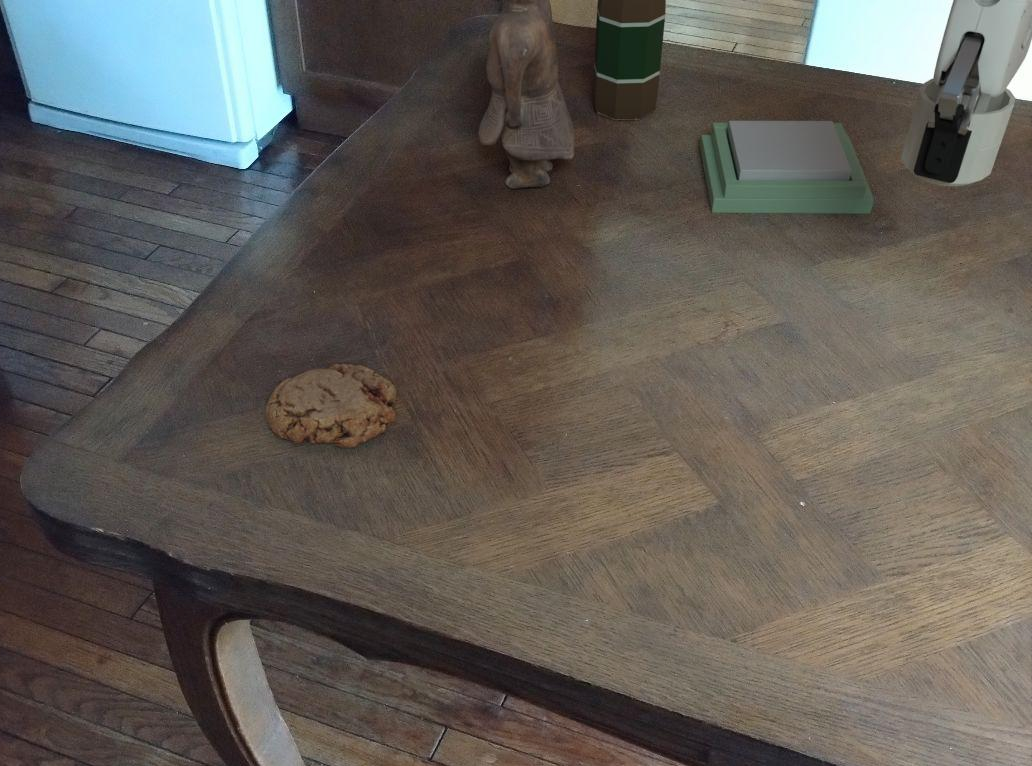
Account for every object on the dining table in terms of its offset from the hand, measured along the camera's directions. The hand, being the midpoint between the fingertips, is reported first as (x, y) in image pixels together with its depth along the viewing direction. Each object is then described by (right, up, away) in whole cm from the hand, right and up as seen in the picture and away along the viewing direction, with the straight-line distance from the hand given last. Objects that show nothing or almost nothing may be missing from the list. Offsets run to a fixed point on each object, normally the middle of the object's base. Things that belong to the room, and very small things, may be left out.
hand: (948, 154), depth 84 cm
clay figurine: (-32, +8, +30) cm, 45 cm away
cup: (0, -1, +1) cm, 1 cm away
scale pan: (-5, +10, +27) cm, 29 cm away
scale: (-5, +8, +29) cm, 31 cm away
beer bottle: (-21, +20, +41) cm, 51 cm away
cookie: (-49, -20, +4) cm, 53 cm away
